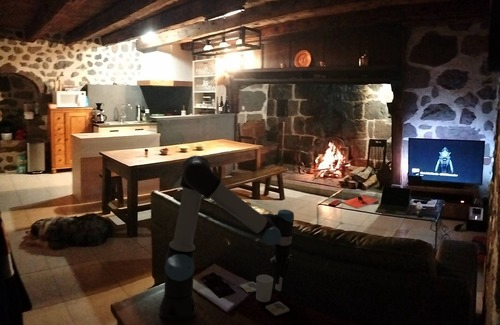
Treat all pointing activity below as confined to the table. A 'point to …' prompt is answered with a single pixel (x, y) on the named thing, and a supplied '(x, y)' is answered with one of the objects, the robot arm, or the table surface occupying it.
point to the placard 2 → (277, 308)
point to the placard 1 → (249, 287)
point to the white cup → (264, 288)
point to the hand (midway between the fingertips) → (278, 289)
